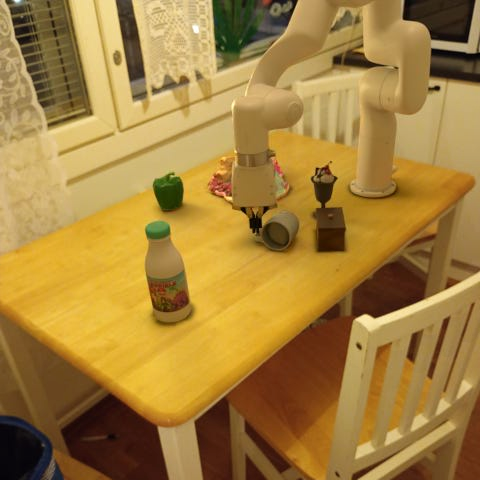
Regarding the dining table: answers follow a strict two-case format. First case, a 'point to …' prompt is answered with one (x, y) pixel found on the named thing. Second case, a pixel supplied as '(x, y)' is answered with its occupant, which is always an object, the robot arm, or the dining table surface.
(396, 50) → the robot arm
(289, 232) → the ceramic mug
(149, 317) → the dining table surface
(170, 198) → the bell pepper
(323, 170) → the sundae
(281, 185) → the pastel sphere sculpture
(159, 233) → the milk bottle
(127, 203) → the dining table surface
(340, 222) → the tea box
